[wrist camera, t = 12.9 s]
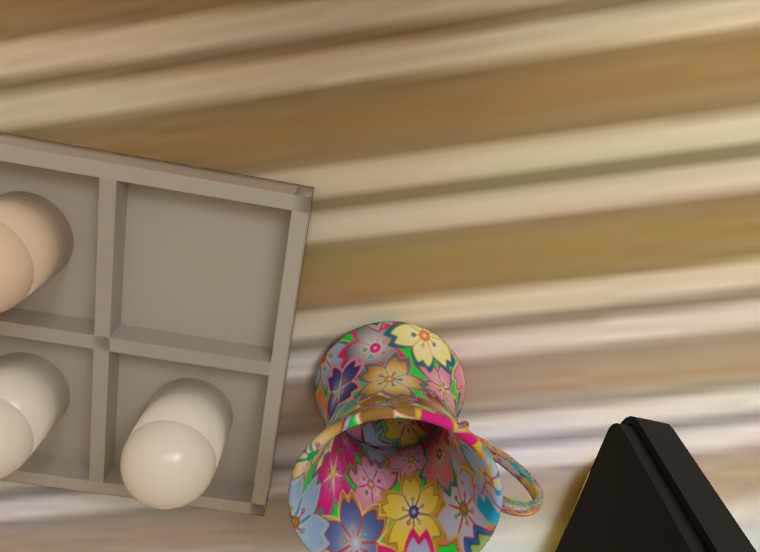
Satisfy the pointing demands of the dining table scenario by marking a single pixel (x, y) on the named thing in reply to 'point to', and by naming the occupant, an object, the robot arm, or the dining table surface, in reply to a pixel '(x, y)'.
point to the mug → (398, 452)
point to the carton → (159, 307)
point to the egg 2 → (176, 443)
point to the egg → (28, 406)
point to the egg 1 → (30, 245)
